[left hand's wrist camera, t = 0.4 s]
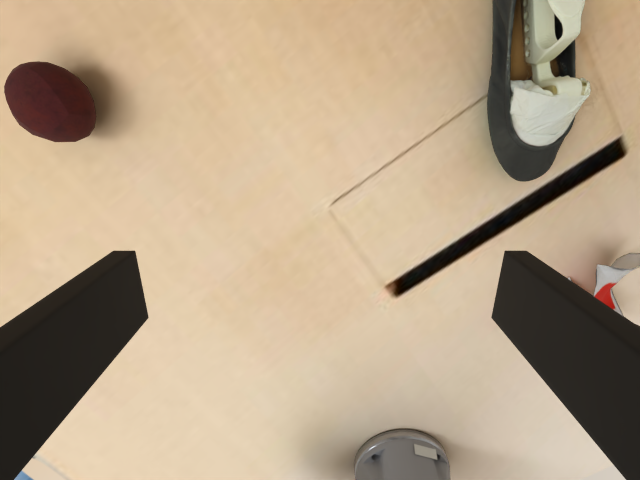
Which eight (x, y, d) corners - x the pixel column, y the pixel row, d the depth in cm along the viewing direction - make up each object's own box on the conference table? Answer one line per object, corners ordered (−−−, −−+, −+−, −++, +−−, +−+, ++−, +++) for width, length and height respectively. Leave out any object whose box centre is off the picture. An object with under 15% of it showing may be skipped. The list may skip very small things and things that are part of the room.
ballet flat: (485, 187, 42) (523, 205, 34) (461, -51, 34) (504, -98, 26) (555, 169, 41) (610, 183, 33) (548, -78, 33) (618, -135, 25)
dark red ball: (72, 51, 37) (18, 38, 30) (125, 116, 39) (85, 118, 32) (25, 93, 38) (-36, 90, 31) (79, 154, 40) (32, 162, 34)
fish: (509, 294, 41) (605, 345, 34) (586, 217, 45) (689, 247, 37) (512, 341, 48) (594, 393, 40) (580, 271, 52) (666, 306, 44)
